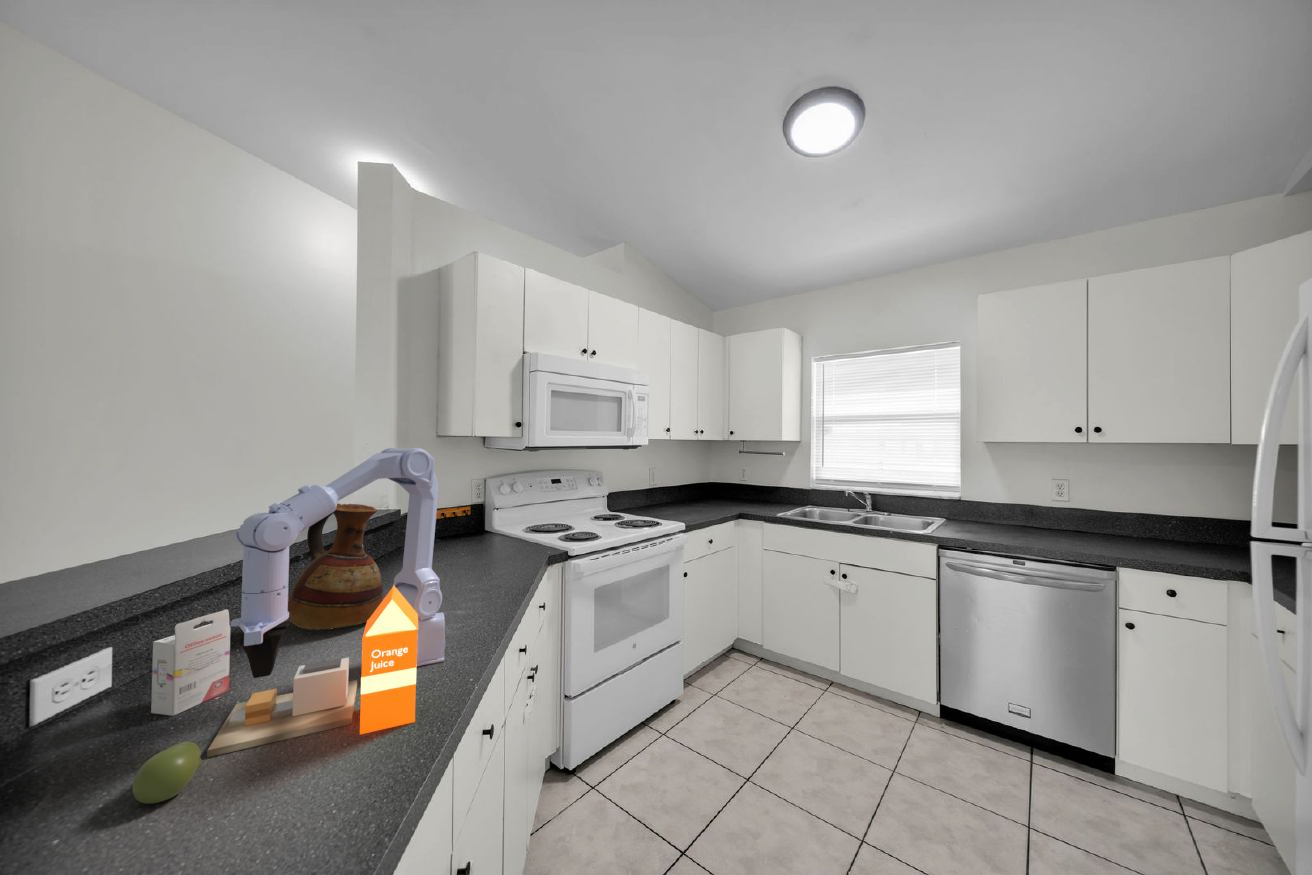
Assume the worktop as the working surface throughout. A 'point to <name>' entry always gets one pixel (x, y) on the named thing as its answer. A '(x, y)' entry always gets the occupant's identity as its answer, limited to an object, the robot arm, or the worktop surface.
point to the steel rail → (276, 712)
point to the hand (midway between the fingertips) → (262, 675)
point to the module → (320, 686)
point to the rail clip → (260, 707)
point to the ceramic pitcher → (337, 575)
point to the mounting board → (281, 725)
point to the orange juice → (389, 665)
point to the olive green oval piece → (166, 773)
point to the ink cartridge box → (191, 664)
